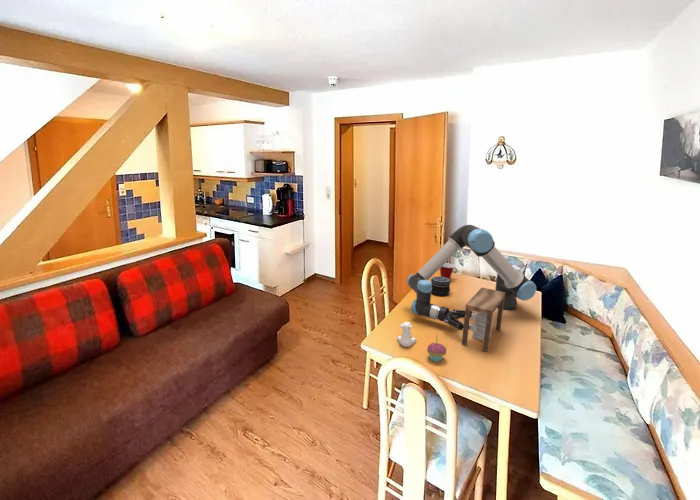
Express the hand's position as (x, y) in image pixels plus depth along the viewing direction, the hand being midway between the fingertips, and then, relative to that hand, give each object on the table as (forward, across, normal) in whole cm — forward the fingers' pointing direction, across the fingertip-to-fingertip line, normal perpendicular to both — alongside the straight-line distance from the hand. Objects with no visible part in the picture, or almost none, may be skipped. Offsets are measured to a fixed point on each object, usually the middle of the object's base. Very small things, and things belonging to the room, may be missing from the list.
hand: (480, 324), depth 190 cm
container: (-38, -45, -7) cm, 59 cm away
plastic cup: (-43, -72, -7) cm, 84 cm away
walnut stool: (+1, 0, -7) cm, 7 cm away
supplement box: (+1, 0, -7) cm, 7 cm away
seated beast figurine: (-27, +28, -7) cm, 40 cm away
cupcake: (-10, +33, -7) cm, 35 cm away
